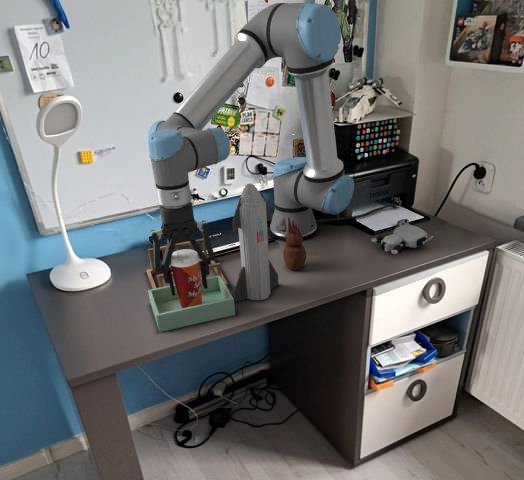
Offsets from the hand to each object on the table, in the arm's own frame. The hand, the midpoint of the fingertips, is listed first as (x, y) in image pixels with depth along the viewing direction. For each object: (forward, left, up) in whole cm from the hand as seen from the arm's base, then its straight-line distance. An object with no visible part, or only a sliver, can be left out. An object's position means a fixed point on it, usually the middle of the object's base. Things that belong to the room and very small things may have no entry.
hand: (189, 289), depth 134 cm
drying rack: (-2, -17, -6) cm, 18 cm away
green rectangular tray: (0, 0, -6) cm, 6 cm away
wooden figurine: (-33, -11, -6) cm, 35 cm away
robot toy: (-67, -9, -6) cm, 68 cm away
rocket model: (-18, -1, -6) cm, 19 cm away
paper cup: (0, 0, -4) cm, 4 cm away
